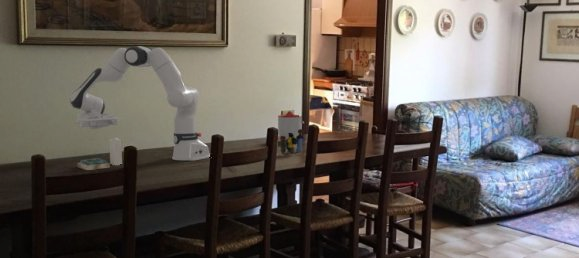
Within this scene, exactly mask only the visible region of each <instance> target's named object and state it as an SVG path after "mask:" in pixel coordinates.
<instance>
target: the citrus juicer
mask: <svg viewBox="0 0 579 258" xmlns="http://www.w3.org/2000/svg"><path fill="white" fill-rule="evenodd" d="M302 118H303V116H302V115H299V114H294V113H293V112H292V111H291V110H290V111H288V112H287V113H285V114H279V115H277V130H279V133H278V137H279V140H280V142H281V141H282V140H281V138H280V137H281V136H285V137H286V138H285V140H287V139H288V138H289V136H288V135H289V134H288V133H293V135H294V137H295V138H296V136H298V135H299V133H298V130H299V129H302V125H303V124H305V122H304V120H303V119H302Z"/></svg>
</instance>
